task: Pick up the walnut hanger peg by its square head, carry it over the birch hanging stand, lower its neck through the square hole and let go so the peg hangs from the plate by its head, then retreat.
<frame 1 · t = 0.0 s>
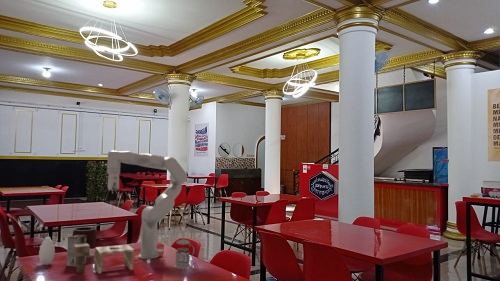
hand: (112, 199, 231), 37 cm above the table, tool pointing down, fingers open, 9 cm apart
french press: (183, 266, 222), on the table
hanging stand: (113, 268, 213), on the table
hanger peg: (80, 271, 205), on the table
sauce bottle: (46, 265, 217), on the table
coffee box: (76, 264, 220), on the table
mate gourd: (84, 256, 239), on the table
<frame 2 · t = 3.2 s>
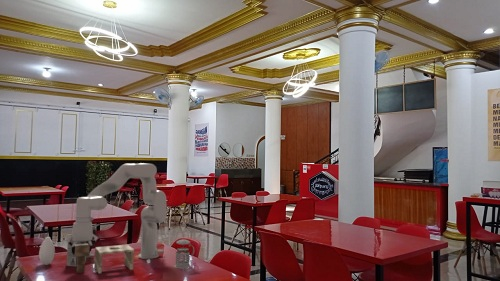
hand: (81, 253, 206), 10 cm above the table, tool pointing down, fingers closed on hanger peg, 7 cm apart
hanger peg: (80, 271, 205), on the table, touching gripper
everything else where it was.
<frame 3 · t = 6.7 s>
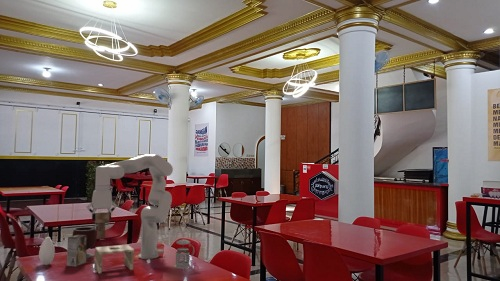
hand: (101, 220, 211), 27 cm above the table, tool pointing down, fingers closed on hanger peg, 7 cm apart
hanger peg: (100, 237, 211), point 17 cm above the table, touching gripper
everything else where it was.
when the fingers open (13 cm above the table, at t = 10.1 s): hanger peg drops 1 cm, resting on hanging stand.
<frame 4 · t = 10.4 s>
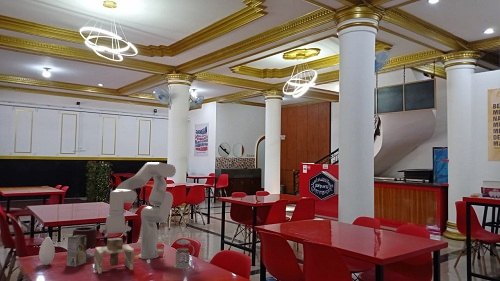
hand: (114, 243, 214), 14 cm above the table, tool pointing down, fingers open, 9 cm apart
hanger peg: (113, 264, 213), point 2 cm above the table, touching hanging stand
everything else where it was.
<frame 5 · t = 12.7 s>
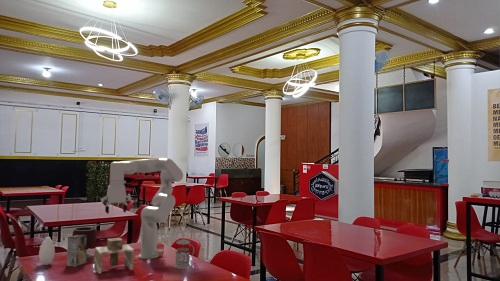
hand: (116, 212, 221), 30 cm above the table, tool pointing down, fingers open, 9 cm apart
nothing on the table moved.
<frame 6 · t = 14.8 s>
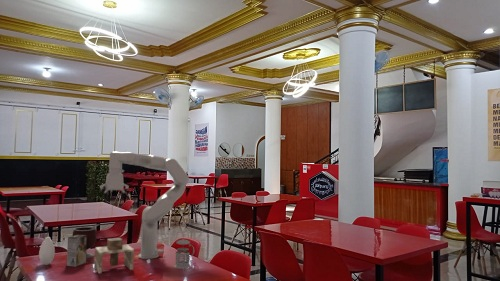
hand: (113, 199, 236), 36 cm above the table, tool pointing down, fingers open, 9 cm apart
nothing on the table moved.
at the end: hanger peg 0.1 cm off-centre on the hanging stand, point 2.0 cm above the hanging stand's base; hanger peg tilted 0°; the gripper is holding nothing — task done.
